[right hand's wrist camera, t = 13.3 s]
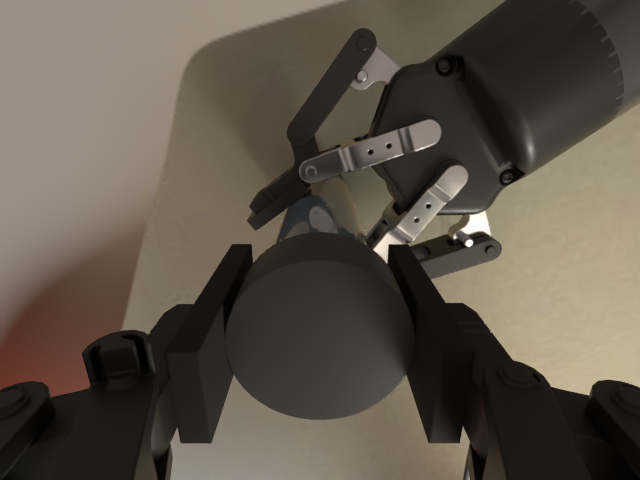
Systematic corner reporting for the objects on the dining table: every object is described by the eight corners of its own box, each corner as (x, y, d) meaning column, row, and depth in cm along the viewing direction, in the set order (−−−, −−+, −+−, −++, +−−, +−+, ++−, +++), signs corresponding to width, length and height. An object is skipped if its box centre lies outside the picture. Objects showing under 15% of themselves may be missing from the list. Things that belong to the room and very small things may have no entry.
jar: (302, 236, 27) (278, 408, 12) (281, 181, 26) (221, 295, 10) (357, 217, 27) (410, 372, 11) (339, 161, 25) (370, 247, 10)
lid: (374, 382, 13) (384, 433, 11) (229, 355, 13) (212, 403, 11) (421, 251, 12) (443, 283, 9) (254, 214, 11) (239, 239, 9)
